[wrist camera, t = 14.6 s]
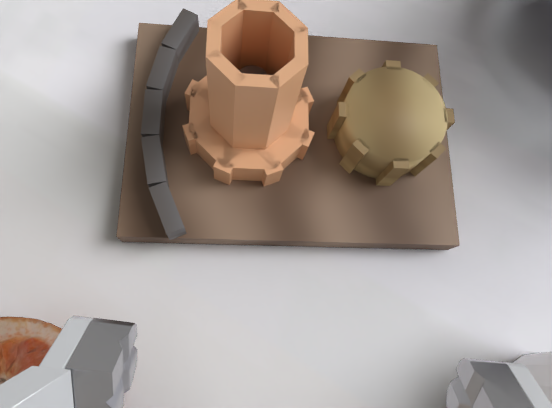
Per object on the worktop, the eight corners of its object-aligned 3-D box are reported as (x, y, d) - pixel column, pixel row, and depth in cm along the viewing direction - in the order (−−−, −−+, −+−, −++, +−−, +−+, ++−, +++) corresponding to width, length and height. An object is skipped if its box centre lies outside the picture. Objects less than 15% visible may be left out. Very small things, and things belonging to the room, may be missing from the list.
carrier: (427, 56, 32) (480, -17, 26) (447, 251, 28) (517, 226, 22) (143, 35, 30) (119, -49, 23) (122, 244, 26) (86, 213, 19)
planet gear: (307, 78, 29) (339, -22, 21) (309, 188, 27) (346, 125, 19) (189, 70, 28) (175, -37, 20) (182, 183, 26) (163, 115, 18)
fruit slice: (-46, 349, 24) (-114, 353, 19) (80, 296, 25) (46, 287, 20) (1, 511, 22) (-61, 559, 17) (132, 443, 23) (109, 471, 19)
